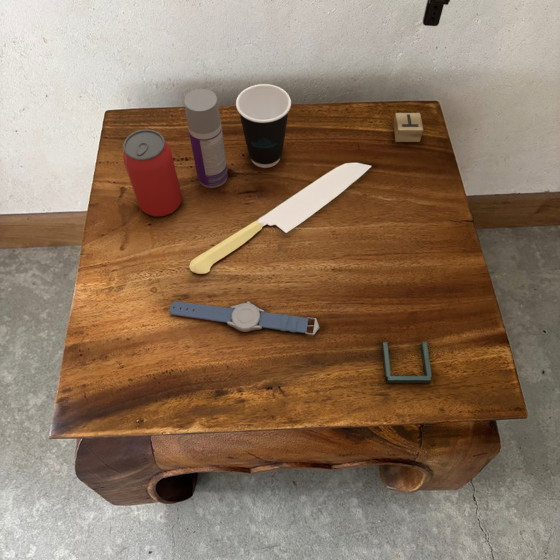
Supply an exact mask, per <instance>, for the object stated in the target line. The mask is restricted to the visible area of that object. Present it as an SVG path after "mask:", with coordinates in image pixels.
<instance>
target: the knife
mask: <svg viewBox="0 0 560 560" xmlns="http://www.w3.org/2000/svg"><path fill="white" fill-rule="evenodd" d="M370 168H372V165H369V164H364V163H361V162H345V163H343V164H341V165H339V166H336V167H334V168H333V169H332V170H330V171H328V172H326V173H325V174H324V175H322V176H321V177H319V178H318V179H316V180H315V181H313V182H312V183H310V184H309V185H307V186H306V187H304V188H302V189H301V190H299V191H298V192H297V193H295V194H294V195H292V196H290V197H289V198H288V199H286V200H285V201H283V202H281V203H280V204H278V205H277V206H276V207H275V208H273V209H271V210H269V212H267V213H266V214H263V215H262V216H260V217H259V218H258V219H256V220H254V221H253V222H251V223H249V224H248V225H246V226H245V227H243V228H242V229H240V230H238V231H236V232H235V233H234V234H232V235H230V236H228V237H227V238H225V239H224V240H222V241H220V242H219V243H217V244H215V245H214V246H212V247H210V248H209V249H207V250H206V251H204V252H202V253H201V254H198V256H196V257H194V258H193V259H192V260H191V261H190V262H189V266H188V267H189V270H190V271H191V272H192V273H195V274H199V275H202V274H203V275H204V274H208V273H209V272H211V268H212V266H213V265H214V264H215V263H217V262H218V261H220V260H222V259H223V258H225V257H227V256H228V255H229V254H231V253H232V252H234V251H235V250H237V249H239V248H240V247H241V246H243V245H244V244H245V243H247V242H248V241H249V240H250V239H252V238H253V237H254V236H255V235H256V234H257V233H258V232H260V231H261V230H262V229H263V227H264V226H266V225H268V226H269V227H272V226H276V227H277V228H278V229H280V230H282V232H283V233H285V234H288V233H289V232H290V231H291V230H293V229H295V228H296V227H297V226H299V225H301V224H302V223H303V222H305V221H306V220H307V219H309V218H310V217H312V216H313V215H314V214H315V213H316V212H318V211H319V210H321V209H322V208H323V207H325V206H326V205H328V204H329V203H330V202H331V201H332V200H334V199H335V198H337V197H338V196H339V195H341V194H342V193H343V192H344V191H346V189H348V188H349V187H350V186H351V185H352V184H353V183H355V182H356V181H357V180H359V179H360V178H361V177H362V176H363V175H364V174H366V172H368V171H369V170H370Z"/></svg>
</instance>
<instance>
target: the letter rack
mask: <svg viewBox="0 0 560 560" xmlns="http://www.w3.org/2000/svg"><path fill="white" fill-rule="evenodd" d="M420 350H421V358H422V364H423V373H424V375H392V371H391V362H390V351H389V344H388V341H382V344H381V353H382V363H383V371H384V372H383V373H384V380H386V383H387V384H430V383H431V382H432V378H433V374H432V368H431V361H430V353H429V346H428V341H422V342H421V344H420Z"/></svg>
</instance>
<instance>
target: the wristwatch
mask: <svg viewBox="0 0 560 560" xmlns="http://www.w3.org/2000/svg"><path fill="white" fill-rule="evenodd" d="M169 314H170V315H171V316H176V317H184V318H190V319H199V320H205V321H212V322H217V323H225V324H227V326H230V327H232V328H234V329H236V330H237V331H240V332H243V333H248V332H251V331H255V330H262V329H270V330H279V331H280V332H290V333H294V334H295V333H300V334H305V335H309V336H315V335H316V333H317V332H318V331H319V329H320V328H321V327H320V325H319V322H318V320H317V318H316V317H303V316H298V315H289V314H286V313H285V314H284V313H283V314H280V313H272V312H265V310H264V309H262V308H259V307H258V306H257V305H255V304H254V303H252V302H251V301H246V302H243V303H240V304H236V305H231V306H230V307H227V306H217V305H211V304H210V305H208V304H201V303H192V302H184V301H183V302H182V301H173V302H171V304H170V306H169ZM309 320H314V323H313V325H308V324H309ZM308 327H313V331H312V333H311V332H308Z"/></svg>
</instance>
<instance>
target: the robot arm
mask: <svg viewBox="0 0 560 560" xmlns="http://www.w3.org/2000/svg"><path fill="white" fill-rule="evenodd" d="M450 2H451V0H426V4H425V9H424V13H423V17H422V24H423V26H426V27H437V26H439V24H440V21H441V17H442V14H443V10H444V7H445V6H448V5H449V3H450Z"/></svg>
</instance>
